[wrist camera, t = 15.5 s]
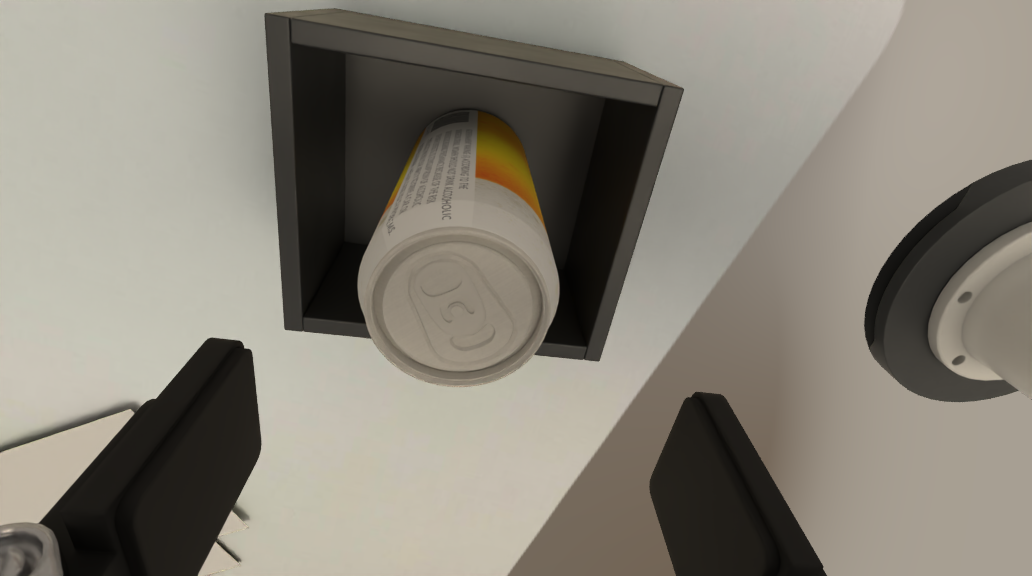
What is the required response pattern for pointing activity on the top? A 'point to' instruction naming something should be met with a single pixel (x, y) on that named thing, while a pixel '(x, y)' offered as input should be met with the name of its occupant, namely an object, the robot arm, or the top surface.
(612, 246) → the open box
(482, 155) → the beer can
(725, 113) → the top surface
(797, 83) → the top surface
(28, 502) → the paper stack
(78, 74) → the top surface
